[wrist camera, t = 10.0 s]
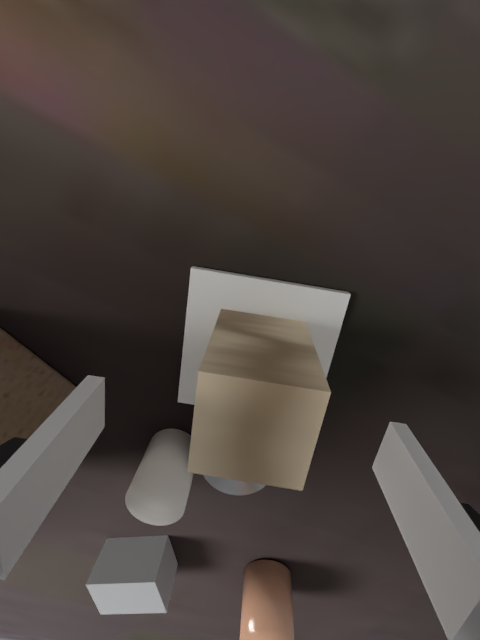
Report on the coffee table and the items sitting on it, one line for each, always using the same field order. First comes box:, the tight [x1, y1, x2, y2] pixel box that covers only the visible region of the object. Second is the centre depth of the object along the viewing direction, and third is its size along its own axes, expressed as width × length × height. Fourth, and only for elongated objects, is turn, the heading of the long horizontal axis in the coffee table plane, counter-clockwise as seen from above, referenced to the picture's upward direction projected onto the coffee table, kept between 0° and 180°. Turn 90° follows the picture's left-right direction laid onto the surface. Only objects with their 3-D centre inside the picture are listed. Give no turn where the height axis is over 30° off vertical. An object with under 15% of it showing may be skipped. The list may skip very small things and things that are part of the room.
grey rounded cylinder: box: [125, 429, 194, 526], centre depth 23 cm, size 4×4×5 cm
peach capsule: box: [240, 560, 294, 640], centre depth 28 cm, size 4×4×5 cm
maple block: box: [187, 309, 331, 491], centre depth 18 cm, size 6×6×8 cm
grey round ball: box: [203, 475, 266, 495], centre depth 24 cm, size 5×5×3 cm
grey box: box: [86, 535, 178, 614], centre depth 29 cm, size 6×4×4 cm, turn 99°
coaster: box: [178, 266, 351, 405], centre depth 22 cm, size 10×10×1 cm
